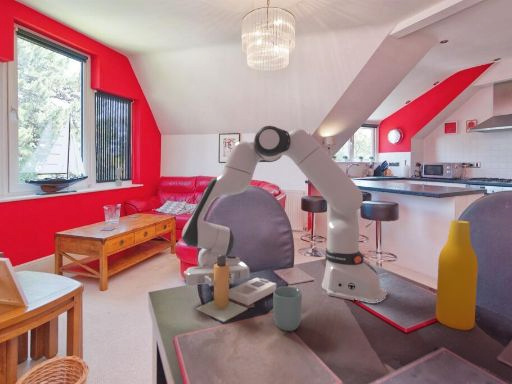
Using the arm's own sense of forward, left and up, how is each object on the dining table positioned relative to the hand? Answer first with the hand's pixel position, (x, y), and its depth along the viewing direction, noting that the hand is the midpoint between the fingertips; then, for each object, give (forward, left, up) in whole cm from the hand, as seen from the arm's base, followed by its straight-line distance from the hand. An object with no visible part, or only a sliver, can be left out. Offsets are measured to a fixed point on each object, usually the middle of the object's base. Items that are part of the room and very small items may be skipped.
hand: (222, 282), depth 88 cm
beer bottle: (-54, -39, -10) cm, 68 cm away
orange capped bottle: (+1, 0, -7) cm, 7 cm away
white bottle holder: (+1, -15, -9) cm, 18 cm away
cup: (-19, -6, -10) cm, 22 cm away
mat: (+1, 0, -9) cm, 10 cm away
